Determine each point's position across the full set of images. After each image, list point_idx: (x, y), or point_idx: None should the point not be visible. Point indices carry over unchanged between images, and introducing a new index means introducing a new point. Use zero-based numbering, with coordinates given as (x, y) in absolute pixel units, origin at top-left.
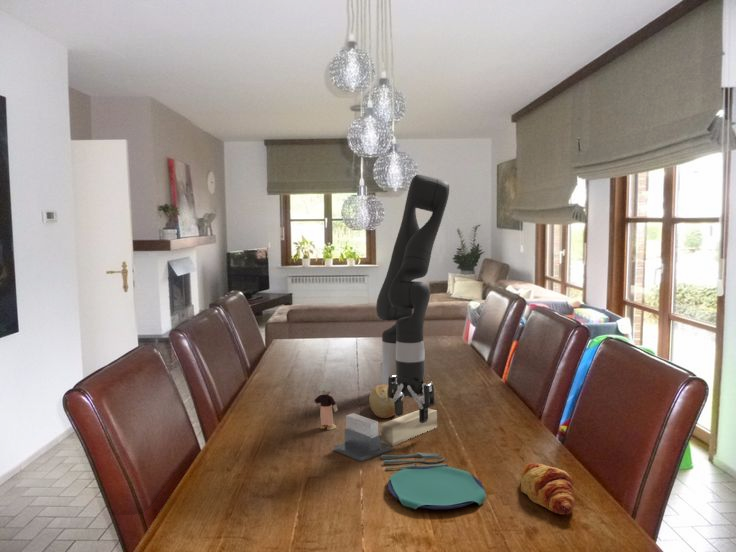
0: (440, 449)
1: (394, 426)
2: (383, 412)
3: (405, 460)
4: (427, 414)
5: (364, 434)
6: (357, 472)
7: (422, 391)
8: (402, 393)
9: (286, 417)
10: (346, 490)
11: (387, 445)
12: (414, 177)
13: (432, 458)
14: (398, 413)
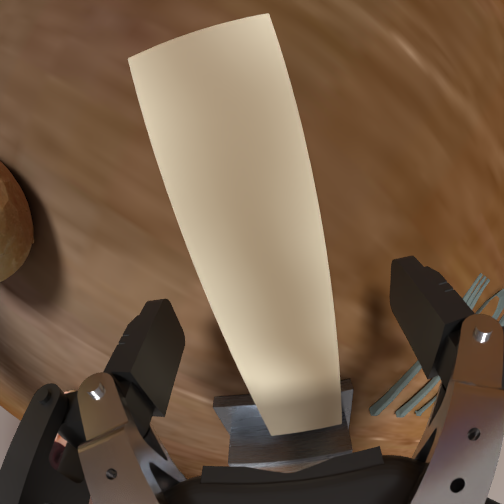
0: (471, 247)
1: (337, 416)
2: (22, 258)
3: (437, 381)
4: (454, 296)
5: None
6: (375, 442)
7: (482, 477)
8: (162, 477)
9: (23, 396)
10: (402, 452)
11: (341, 394)
12: None
13: (478, 310)
14: (178, 341)
